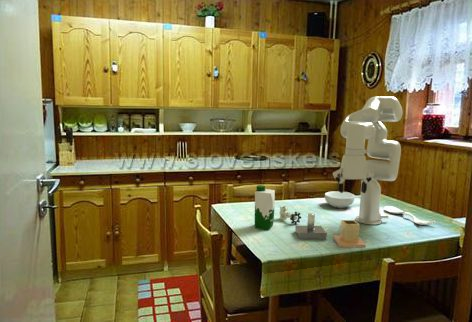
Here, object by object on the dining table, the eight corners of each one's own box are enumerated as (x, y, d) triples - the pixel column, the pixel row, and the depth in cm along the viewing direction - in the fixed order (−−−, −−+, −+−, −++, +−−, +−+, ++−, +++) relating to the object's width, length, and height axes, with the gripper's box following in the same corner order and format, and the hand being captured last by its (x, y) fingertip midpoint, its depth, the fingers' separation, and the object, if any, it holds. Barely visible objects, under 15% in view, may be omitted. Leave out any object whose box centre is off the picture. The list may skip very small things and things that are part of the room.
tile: (356, 237, 171) (357, 235, 171) (365, 247, 160) (366, 244, 160) (332, 237, 171) (332, 235, 171) (339, 247, 160) (340, 244, 160)
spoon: (420, 228, 186) (421, 222, 186) (380, 210, 217) (380, 204, 216) (435, 227, 188) (436, 221, 188) (394, 209, 219) (394, 203, 218)
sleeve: (353, 237, 168) (354, 220, 167) (358, 242, 162) (359, 224, 161) (340, 237, 168) (341, 220, 167) (344, 242, 162) (345, 224, 161)
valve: (275, 219, 196) (290, 225, 186) (276, 206, 195) (291, 212, 185) (285, 217, 200) (301, 223, 190) (286, 205, 199) (301, 211, 189)
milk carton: (257, 223, 189) (258, 183, 186) (275, 225, 186) (276, 185, 183) (252, 228, 181) (253, 187, 177) (270, 231, 178) (272, 189, 174)
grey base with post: (320, 231, 178) (321, 211, 176) (326, 239, 168) (327, 217, 167) (295, 231, 178) (296, 210, 176) (299, 239, 168) (300, 217, 166)
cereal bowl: (323, 201, 233) (323, 190, 232) (351, 203, 230) (352, 191, 229) (325, 209, 216) (326, 197, 215) (355, 211, 214) (356, 198, 213)
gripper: (371, 151, 163) (368, 190, 166) (331, 151, 163) (329, 190, 166) (378, 154, 156) (375, 194, 159) (336, 153, 155) (334, 194, 158)
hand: (352, 192), depth 162 cm, fingers open, 9 cm apart
